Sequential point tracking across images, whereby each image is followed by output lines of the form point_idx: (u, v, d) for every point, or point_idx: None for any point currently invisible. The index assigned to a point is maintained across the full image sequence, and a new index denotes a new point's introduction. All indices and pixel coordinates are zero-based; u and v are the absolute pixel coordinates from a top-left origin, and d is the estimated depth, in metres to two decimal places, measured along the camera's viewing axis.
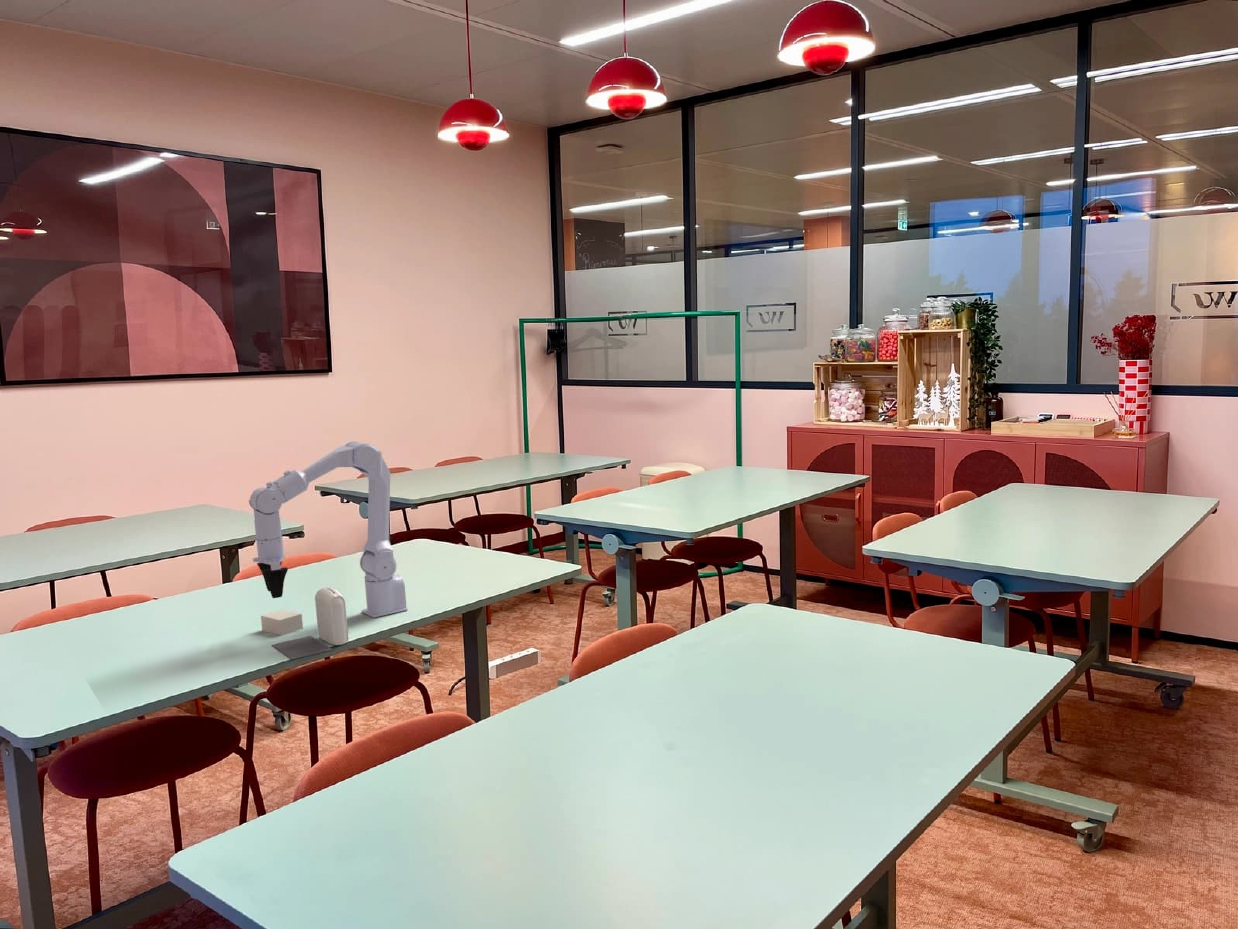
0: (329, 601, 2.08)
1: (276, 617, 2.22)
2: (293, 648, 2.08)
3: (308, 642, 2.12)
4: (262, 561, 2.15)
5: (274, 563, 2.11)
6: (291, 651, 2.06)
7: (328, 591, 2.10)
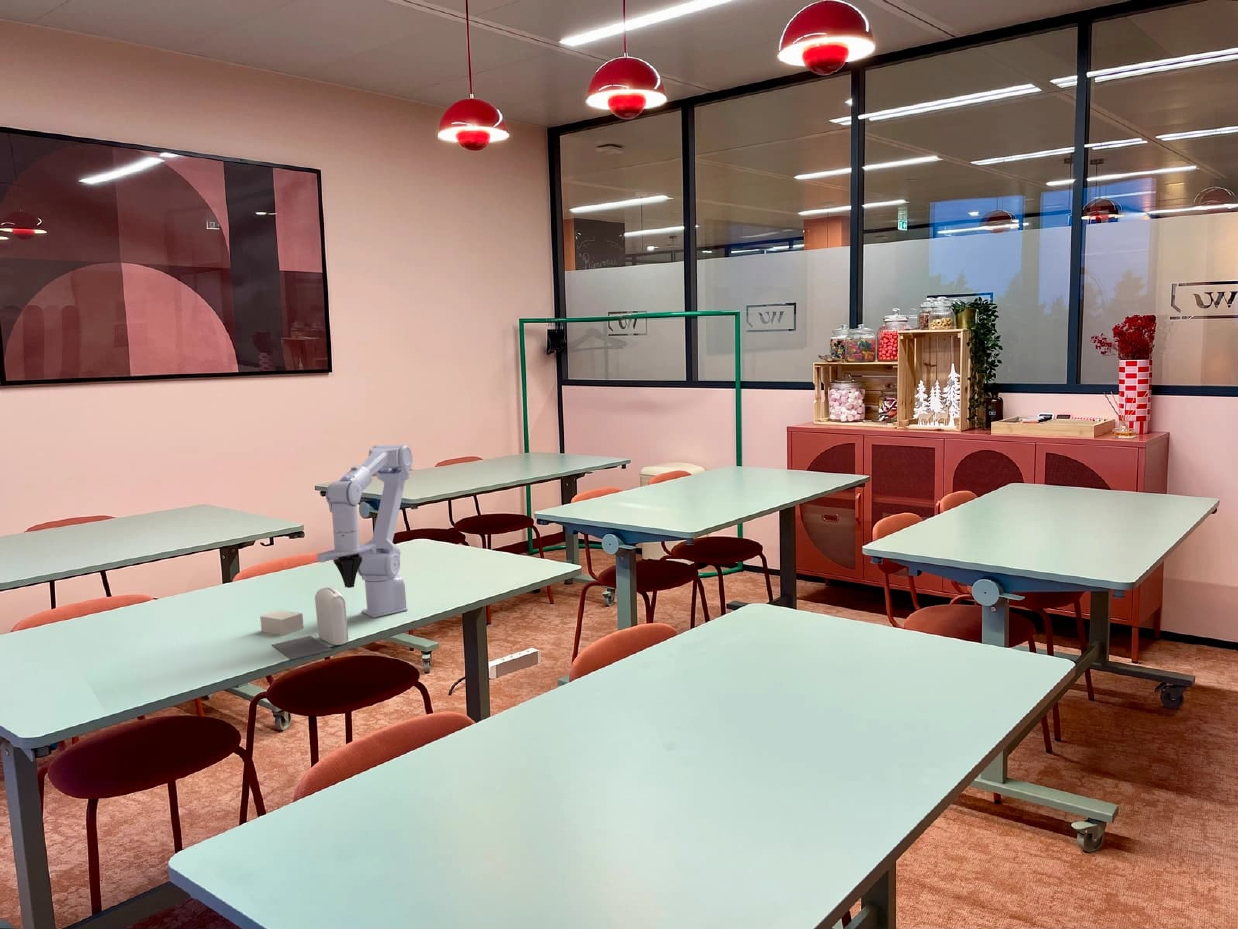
0: (329, 601, 2.08)
1: (277, 617, 2.22)
2: (293, 648, 2.08)
3: (308, 642, 2.12)
4: None
5: (318, 555, 2.15)
6: (291, 651, 2.06)
7: (328, 591, 2.10)
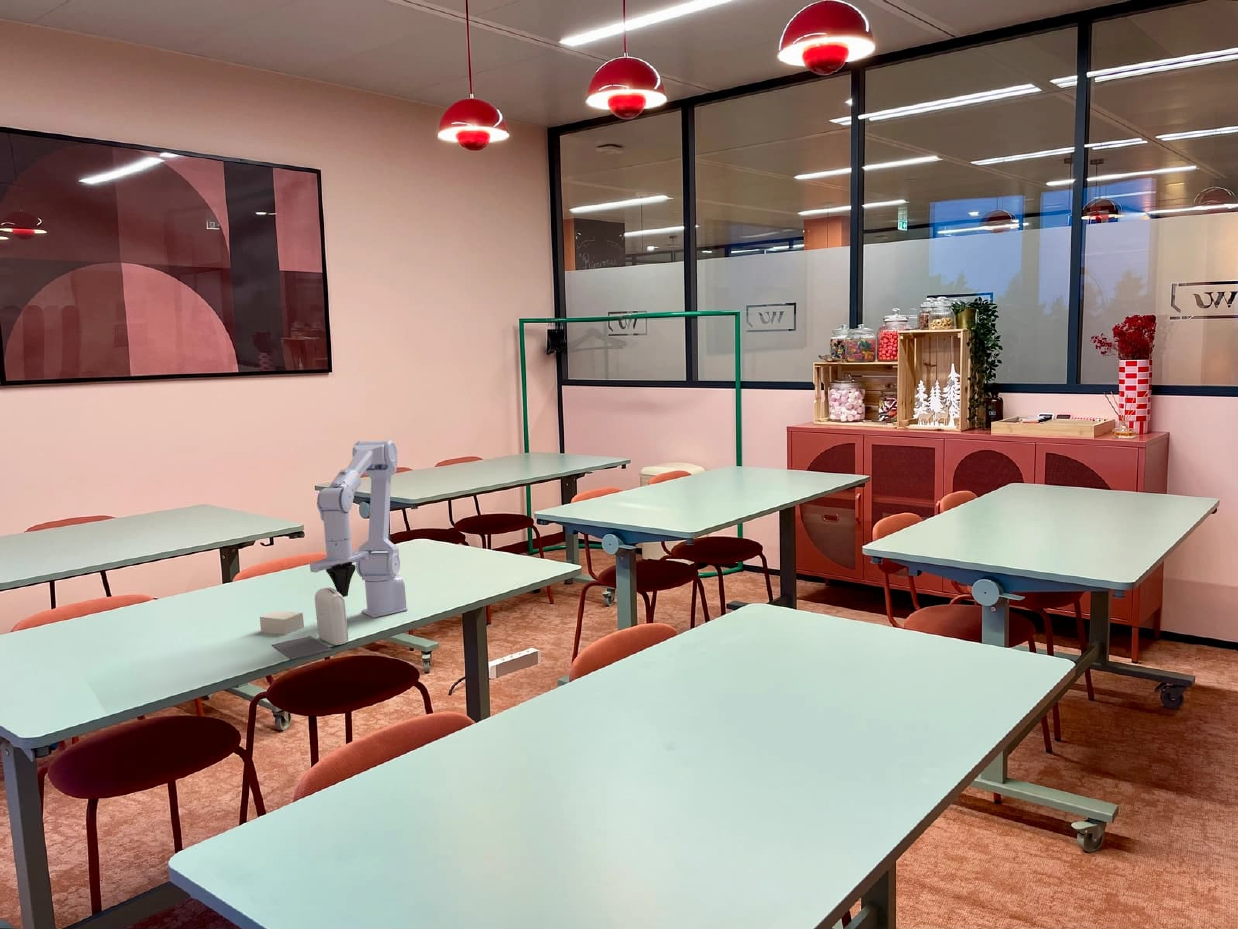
0: (328, 601, 2.08)
1: (278, 617, 2.21)
2: (293, 648, 2.08)
3: (308, 642, 2.12)
4: None
5: (311, 565, 2.08)
6: (291, 651, 2.06)
7: (327, 591, 2.10)
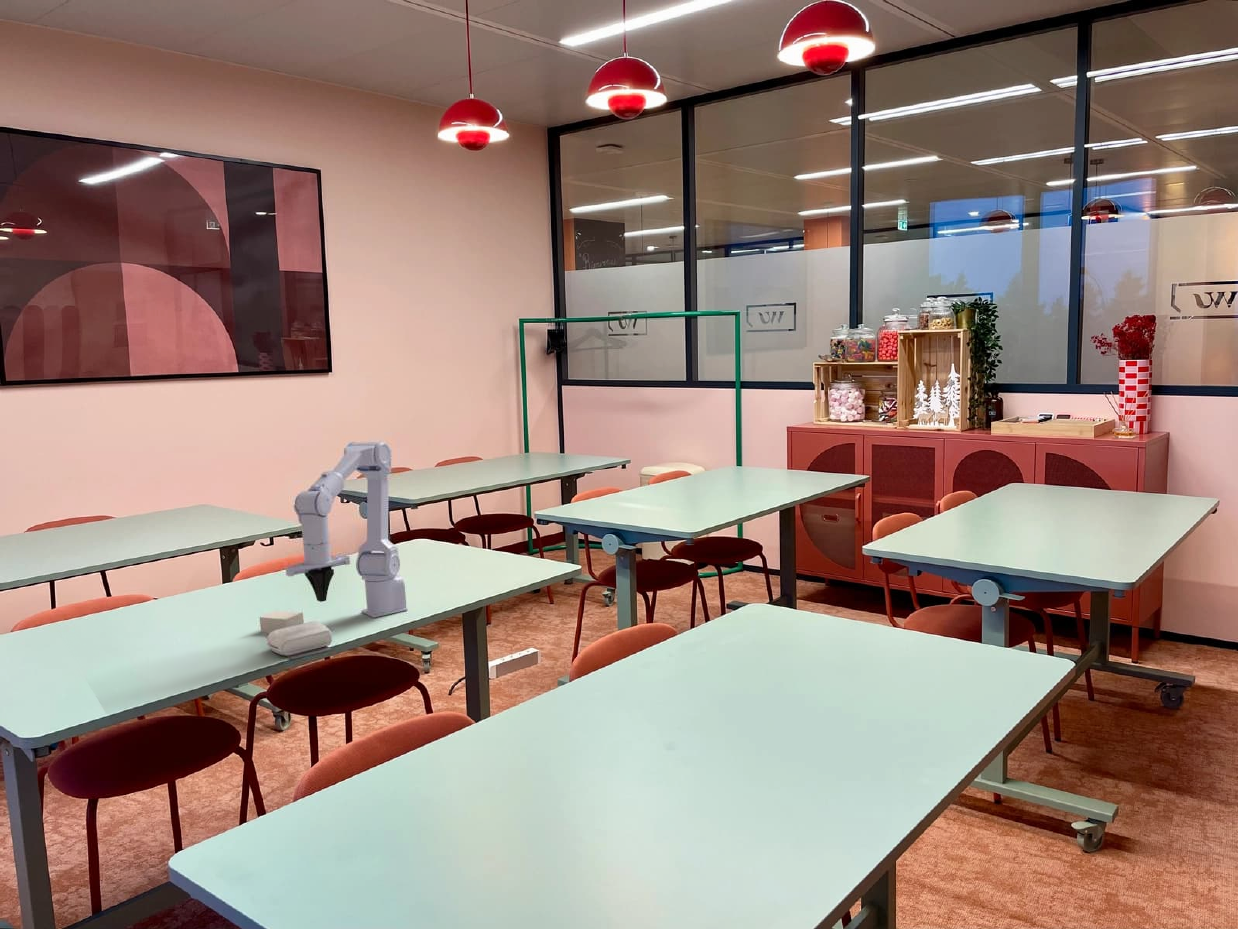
0: None
1: (278, 617, 2.22)
2: None
3: None
4: None
5: (287, 569, 2.05)
6: None
7: (273, 650, 2.03)
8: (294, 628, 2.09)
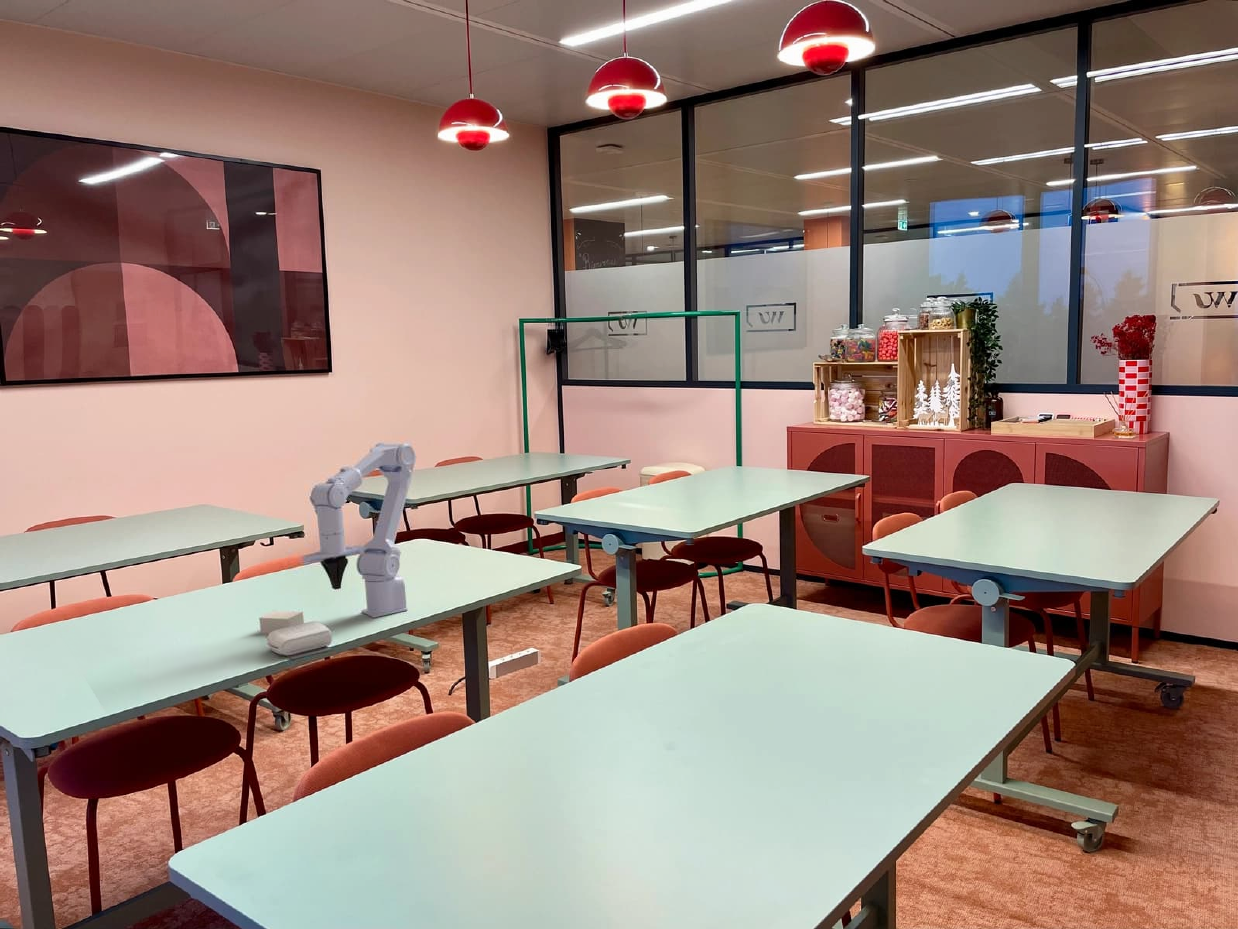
0: None
1: (279, 617, 2.22)
2: None
3: None
4: None
5: (303, 557, 2.15)
6: None
7: (273, 650, 2.03)
8: (294, 628, 2.09)
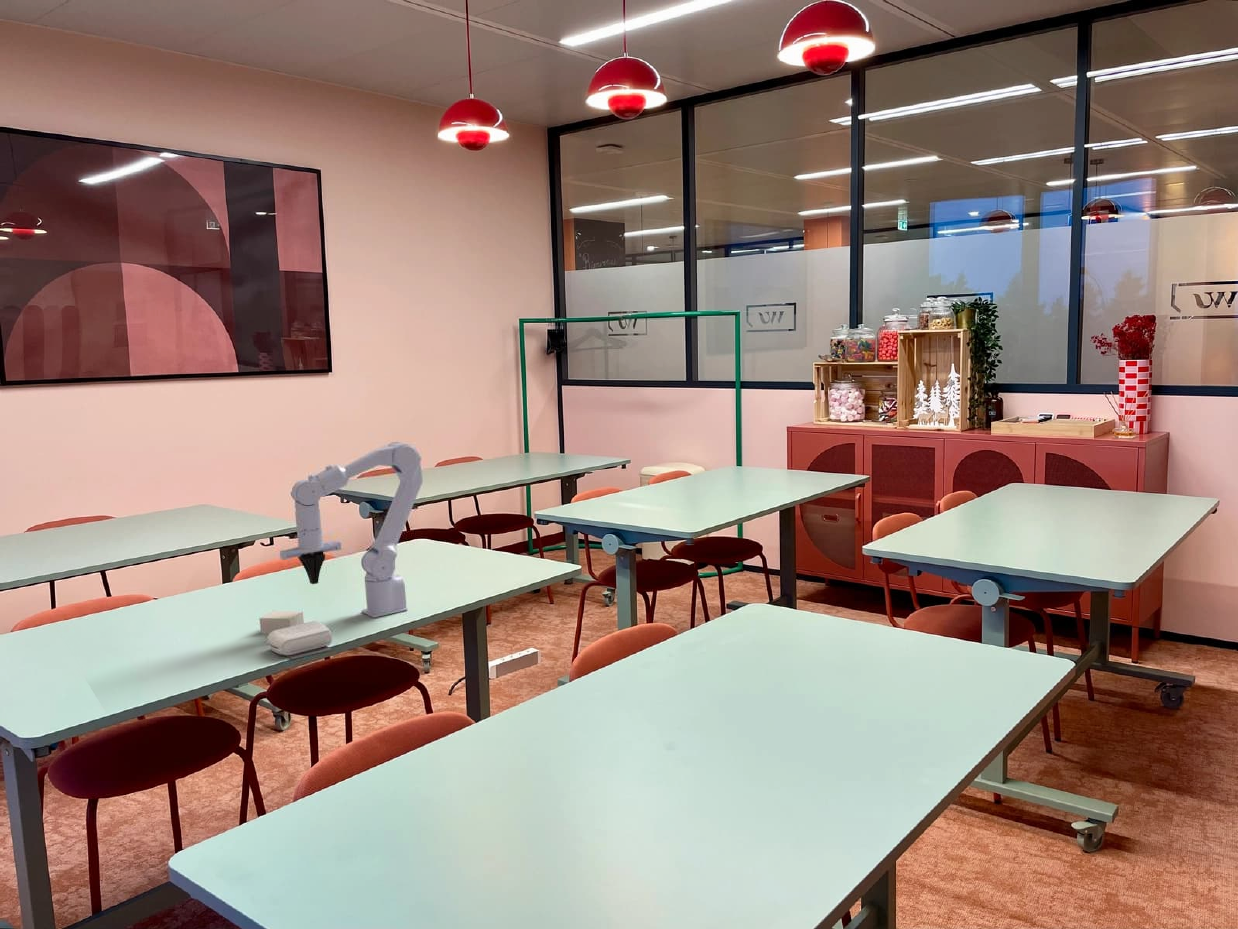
0: None
1: (280, 617, 2.22)
2: None
3: None
4: None
5: (280, 552, 2.21)
6: None
7: (273, 650, 2.03)
8: (294, 628, 2.09)
